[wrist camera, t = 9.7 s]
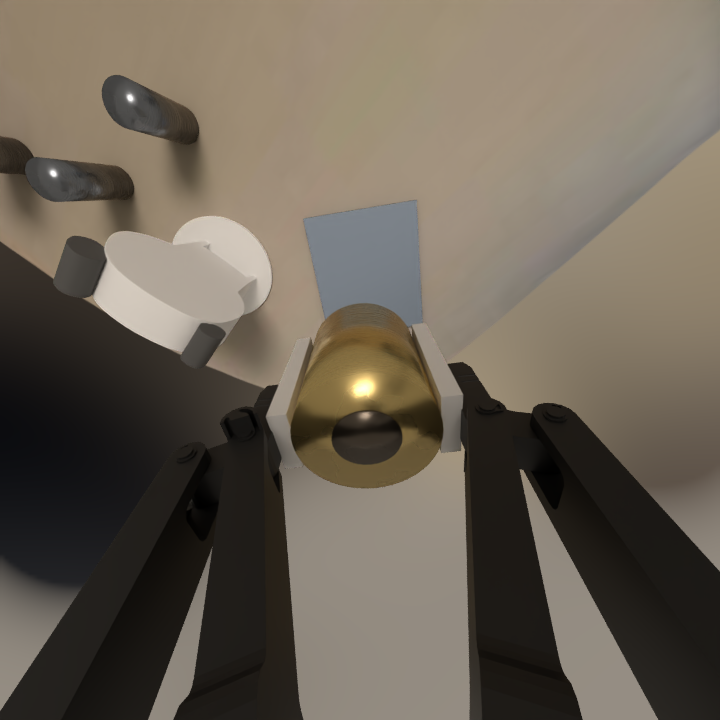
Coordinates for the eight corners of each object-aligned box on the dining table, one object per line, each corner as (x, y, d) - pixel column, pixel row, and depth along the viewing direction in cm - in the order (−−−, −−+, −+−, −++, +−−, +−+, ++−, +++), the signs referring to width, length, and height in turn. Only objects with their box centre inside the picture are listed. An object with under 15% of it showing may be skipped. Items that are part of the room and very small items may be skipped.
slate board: (415, 200, 31) (416, 200, 31) (421, 322, 38) (422, 324, 38) (304, 218, 32) (303, 218, 32) (329, 335, 39) (329, 337, 39)
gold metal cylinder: (409, 296, 16) (444, 365, 9) (414, 384, 18) (444, 483, 12) (304, 310, 16) (270, 385, 10) (324, 395, 19) (308, 496, 12)
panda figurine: (151, 272, 35) (27, 320, 22) (192, 186, 31) (70, 182, 18) (242, 332, 39) (184, 403, 26) (291, 262, 35) (250, 305, 21)
